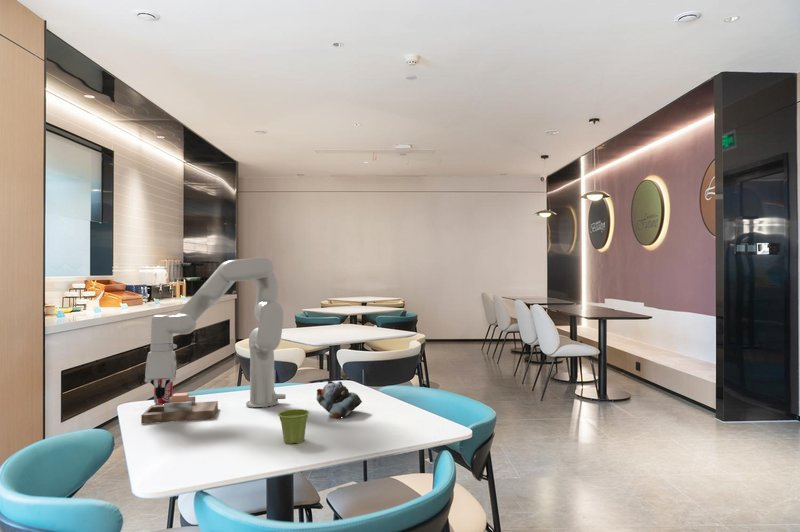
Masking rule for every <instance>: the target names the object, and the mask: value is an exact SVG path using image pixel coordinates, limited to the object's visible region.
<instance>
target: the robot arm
mask: <svg viewBox="0 0 800 532" xmlns="http://www.w3.org/2000/svg"><path fill="white" fill-rule="evenodd" d="M273 270H274V266H273V262H272V260H270V259H269V257H268V258H267V257H265V256H258V257H251V258H241V259H231V260H227V261H223V262H222V263H221V264H220V265H219V266H218V267H217V269H216V270H215V271H214V272H212V274H211V275H210V277H209V278H208V279H207V280H206V281H205V282H204V283H203V284H202V285H201V286H200V288H199V289H198V290H197V291H196V292H195V293H194V294H193V296H192V297H191V298H190V299H189V300H188V301H187V302H186V303H185V304H184V306H182V307H181V309H180V310H179V311H178V312H177V313H176V315H171V314H156V315H153V316H152V317H151V323H150V348H149V349H150V351H149V352H147V357H146V363H145V371H144V372H145V373H144V376H145V378H144V383H148V384H151V385H153V388H154V387H155V388H156V391H155V396H157V399H159V398H160V399H161V398H163V396H165V386H166V385H167V384H168V383H170V382H173V383H174V382H176V381H177V355H176V351H175V350H174V349H177V348H178V345H177V344H175V343H174V334H176V335H177V334H178V335H189V334H191V333H192V332H194V331H195V329H196V326H197V321H198V320H199V318H200V317H201V316H202V315H203V314H204V313H205V312H206V311H207V310H208V309H209V308H211V307H214V305H216V304H217V303H218V302H219V301H220V300H221V299H222V298H223V296H224V295H225V294H226V293H227V291H228V290H229V289H230V288H231V287H232V286H233V285H234V283H235V282H244V281H251V280H253V281H254V282H255V283H256V295H255V296H256V298H255V306H254V309H253V311H254V312H253V313H254V314H253V315H254V319H256V321H257V322H258V327H256V328H253V330H252V331H251V332H250V334H249V337H248V347H249V348H248V349H249V357H250V359H249V360H250V361H249V364H250V365H249V379H250V380H249V387H250V388H249V399H250V400H248V401H246V403H245V406H246V407H249V408H253V407H262V408H268V406H270V407H273V405H274V406H276V404H277V405H278V404H279V400H286V393H276V391H275V352H274V351H275V350H277V349H278V347H279V346H280V344H281V339H282V333H283V324H284V310H283V307H282V305H281V304H280V303H278V297H279V295H278V294H279V282H278V278H277V276H276V274H275V272H274V271H273ZM159 379H163V380H162V385H161V387H160V384H159ZM167 379H168V380H167Z"/></svg>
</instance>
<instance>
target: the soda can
mask: <svg viewBox="0 0 800 532" xmlns="http://www.w3.org/2000/svg"><path fill="white" fill-rule="evenodd" d="M162 380H163V379H159V384H160V387H161V385H162ZM167 380H168V379H167ZM173 386H174V382H170V383H168V384H167V385H166V386H165V396H163V398H161V399H160V398H159V399H157V396H155V391H156V388H155V387H154V386H153V402H154V404H155V405H163V404H165V403H170V397H172V396H173V395H174V393H173V392H174V391H173V390H174V387H173Z"/></svg>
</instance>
